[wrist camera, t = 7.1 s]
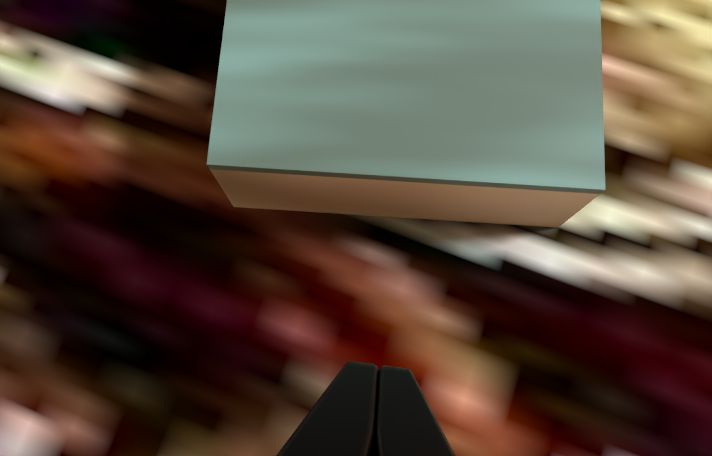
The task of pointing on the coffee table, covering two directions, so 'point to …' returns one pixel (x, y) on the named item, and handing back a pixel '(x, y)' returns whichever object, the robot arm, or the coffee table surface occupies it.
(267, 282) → the coffee table surface
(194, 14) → the coffee table surface
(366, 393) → the robot arm
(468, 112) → the tile
